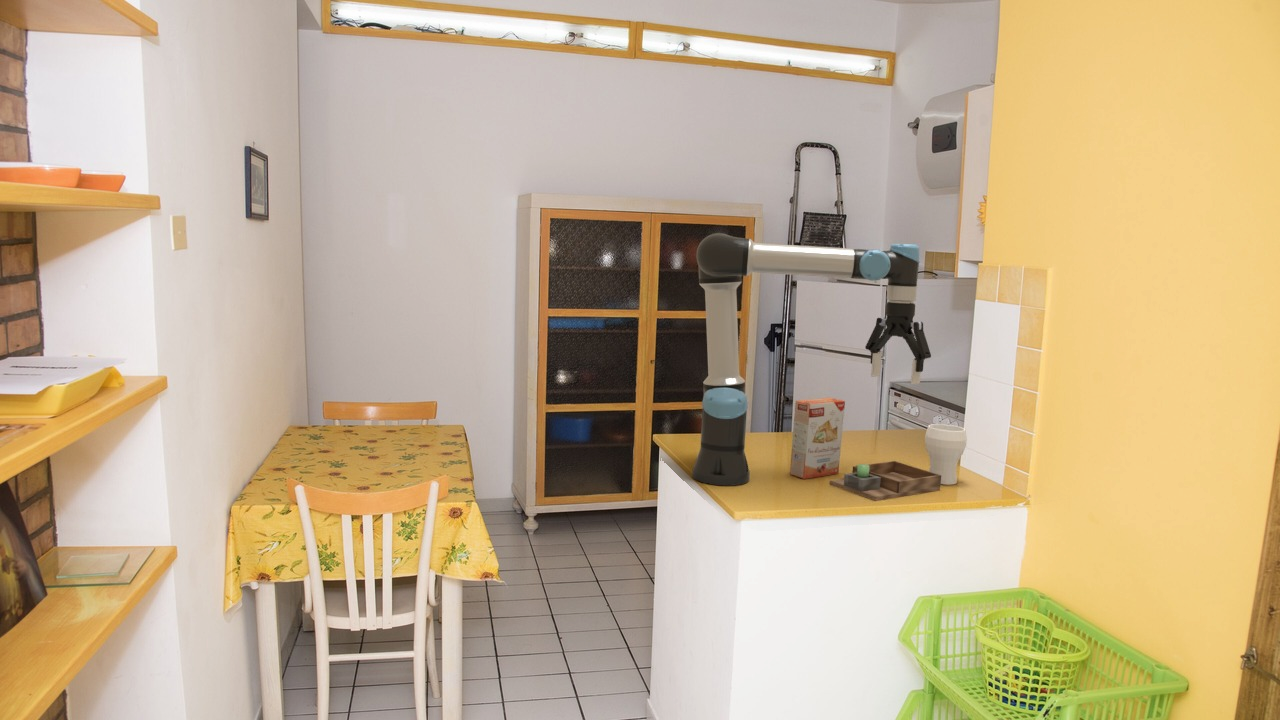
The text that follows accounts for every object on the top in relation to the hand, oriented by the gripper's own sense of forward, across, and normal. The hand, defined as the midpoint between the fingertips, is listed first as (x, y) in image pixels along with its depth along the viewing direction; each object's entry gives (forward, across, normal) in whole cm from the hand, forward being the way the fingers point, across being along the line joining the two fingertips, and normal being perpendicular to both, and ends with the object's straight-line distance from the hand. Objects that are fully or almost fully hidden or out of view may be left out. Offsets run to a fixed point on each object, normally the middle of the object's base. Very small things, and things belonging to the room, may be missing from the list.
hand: (894, 380), depth 230 cm
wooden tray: (+27, -6, +8) cm, 29 cm away
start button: (+24, -6, +17) cm, 30 cm away
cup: (+28, -9, -11) cm, 31 cm away
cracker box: (+27, +11, +17) cm, 34 cm away
